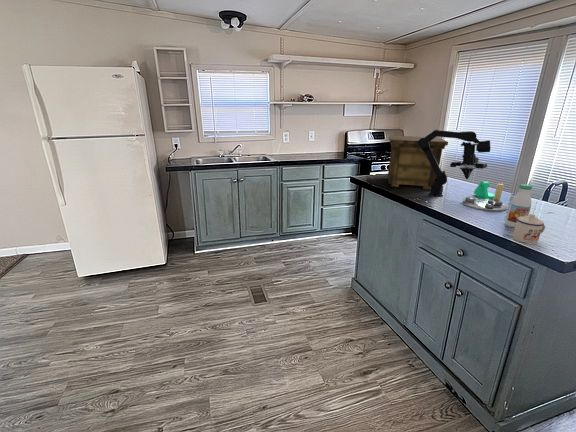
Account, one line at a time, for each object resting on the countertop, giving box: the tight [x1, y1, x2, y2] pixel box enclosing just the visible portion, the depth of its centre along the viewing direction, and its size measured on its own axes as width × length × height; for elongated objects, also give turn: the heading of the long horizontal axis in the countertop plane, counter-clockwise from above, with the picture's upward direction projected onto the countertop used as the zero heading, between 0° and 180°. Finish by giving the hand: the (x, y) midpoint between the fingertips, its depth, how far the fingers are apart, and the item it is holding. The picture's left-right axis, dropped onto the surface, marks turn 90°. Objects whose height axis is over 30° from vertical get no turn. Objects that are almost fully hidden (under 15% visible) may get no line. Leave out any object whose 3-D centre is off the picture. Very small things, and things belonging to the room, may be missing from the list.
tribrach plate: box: [461, 196, 508, 212], centre depth 174 cm, size 22×22×3 cm
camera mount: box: [473, 181, 495, 200], centre depth 189 cm, size 12×8×10 cm, turn 1°
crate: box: [387, 135, 449, 190], centre depth 219 cm, size 35×35×33 cm
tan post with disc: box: [487, 183, 505, 206], centre depth 167 cm, size 16×7×11 cm, turn 141°
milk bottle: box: [505, 183, 533, 229], centre depth 140 cm, size 8×8×20 cm
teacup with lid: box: [512, 213, 546, 244], centre depth 126 cm, size 12×9×12 cm
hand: (467, 179), depth 184 cm, fingers closed
